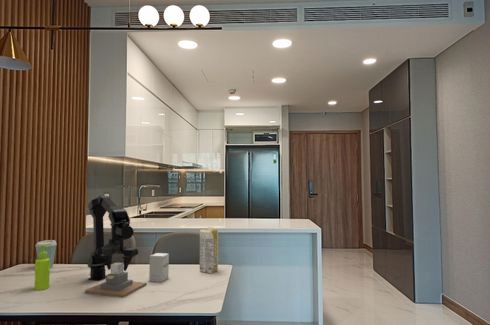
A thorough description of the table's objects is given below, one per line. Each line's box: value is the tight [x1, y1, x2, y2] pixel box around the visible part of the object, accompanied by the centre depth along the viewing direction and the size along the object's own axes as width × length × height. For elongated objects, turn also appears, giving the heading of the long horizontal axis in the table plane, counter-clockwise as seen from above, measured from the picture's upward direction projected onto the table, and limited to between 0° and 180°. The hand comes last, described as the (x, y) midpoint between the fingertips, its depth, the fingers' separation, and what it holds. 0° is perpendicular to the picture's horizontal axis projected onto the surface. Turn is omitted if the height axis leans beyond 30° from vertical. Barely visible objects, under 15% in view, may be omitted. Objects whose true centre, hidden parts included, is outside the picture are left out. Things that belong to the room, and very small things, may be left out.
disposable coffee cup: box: [35, 239, 58, 269], centre depth 200 cm, size 11×11×15 cm
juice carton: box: [199, 226, 219, 274], centre depth 194 cm, size 9×8×24 cm
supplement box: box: [148, 252, 170, 283], centre depth 177 cm, size 7×7×13 cm
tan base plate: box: [84, 271, 148, 298], centre depth 162 cm, size 20×18×7 cm
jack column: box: [110, 262, 124, 275], centre depth 162 cm, size 4×4×10 cm
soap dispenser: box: [34, 244, 52, 291], centre depth 163 cm, size 6×7×20 cm
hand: (117, 270), depth 162 cm, fingers open, 8 cm apart
